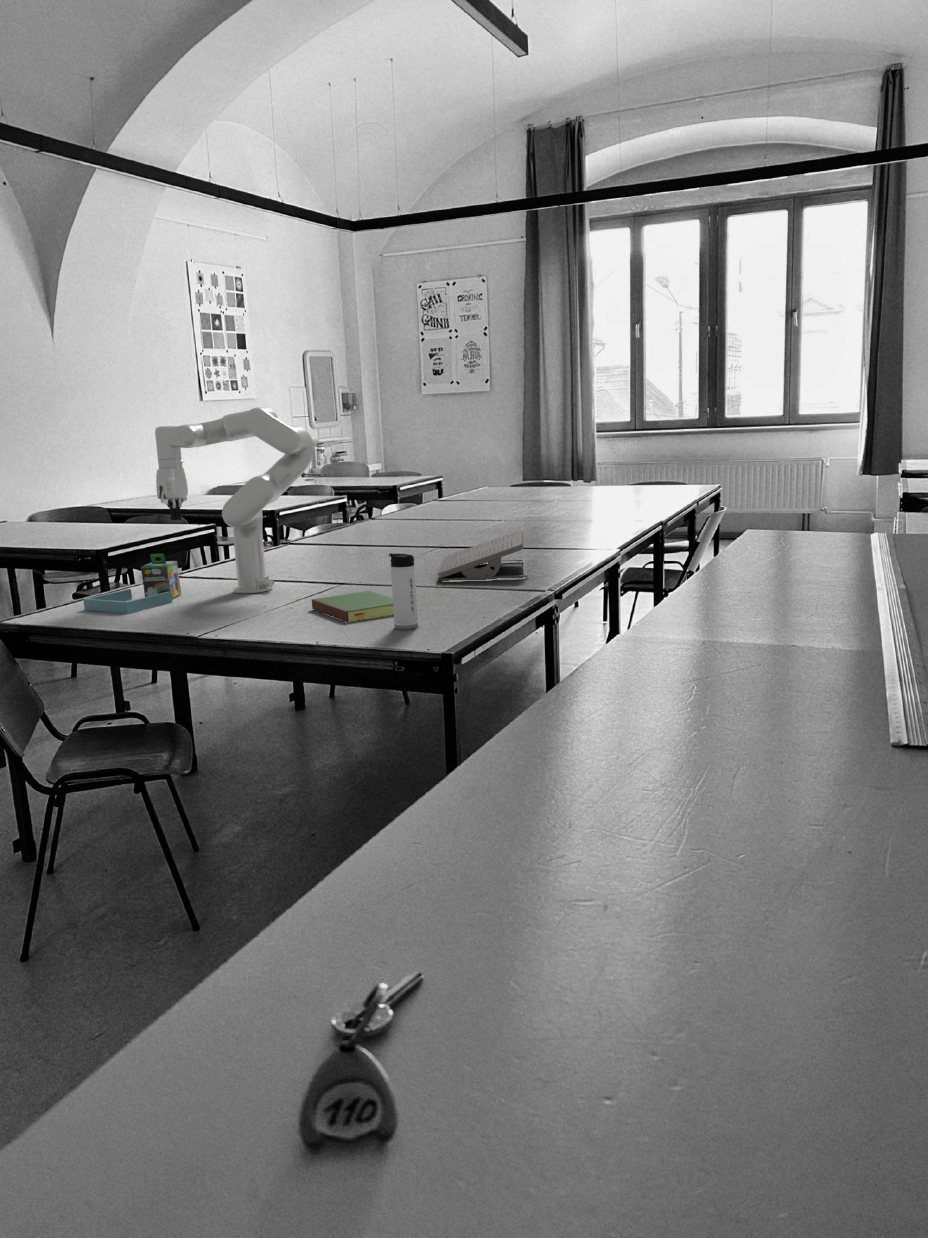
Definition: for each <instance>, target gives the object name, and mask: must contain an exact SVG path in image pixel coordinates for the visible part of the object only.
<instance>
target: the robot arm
mask: <svg viewBox="0 0 928 1238" xmlns="http://www.w3.org/2000/svg"><path fill="white" fill-rule="evenodd" d="M154 435H155V437H154V438H155V445H156V455H157V464H158V469H156V477H155V479H156V480H155V485H156V486H155V487H156V488H155V489H156V497H157V499H159V500H160V504H164V505H166V506H167V509H169V516H170V520H171V521H180V520H182V515H181V514H182V513H181V508H182V505H183V503H184V502H186V501H187V500H188V497H187V496H188V494H189V491H188V490H189V488H188V481H187V477H186V472H185V469H184V467H183V463H184V460H183V458H182V452H181V449H182V448H183V449H192V448H200V447H206V446H209V445H210V446H211V445H215V444H220V443H226V442H234V441H238V440H240V441H241V440H243V439H244V440H245V439H249V438H254V437H256V438H258V439H259V440H261V441H262V442H264V443H266V444H267V445H269V446H270V447H272V448H273V449H276V450H277V451H278V452H280V453H282V454H284V455H283V456H281V457H280V458H279V459H278V460H277V461H275V463H274V464H273V465H272V466H271V467H270V468H269V469H267V470H266V471H265V472H264V473H263V474H260V475H256V476H254V477H252V478H250V479H249V480H247V481H246V483H244V484H243V485H242V486H241V487H240V488H239V489H238V490H237V491H236V492H235V493H234V494H233V495H232V496H230V498H229V499H227V501H226V502H225V503H224V505H223V507H222V511H221V516H222V519H223V522H224V523H225V524H226V525H227V526H229V527H231V528H233V530H232V531H233V532H232V534H233V535H232V536H233V547H234V557H235V558H234V559H235V567H236V570H235V571H236V578H237V579H236V581H237V586H235V587H234V588H233V592H234V593H237V594H257V593H263V592H268V591H271V590H272V588H273V585H275V582H276V581H275V580H274V579H273V580H272V579H270V577H269V575H267V572H266V561H265V547H264V537H263V515H264V514H263V509H264V508H266V507H267V505H270V504H273V503H274V502H276V501H277V500H278V499H279V498H280V497H281V496H282V495H283V494H284V493H285V492H286V491H287V490H288V489H289V488H290V487H291V486H292V485H293V484H294V483H295V482H296V481H297V480H298V478H299V477H301V476H302V474H303V473H304V472H306V470H307V469H308V467H309V466H310V464H311V462H312V459H313V456H314V450H315V448H314V442H313V438H312V435H311V434H310V433H309V431H308V430H307V429H306V428H305V427H301V426H296V425H295V426H290V425H288V424H286V423H285V422H283V421H282V420H280V419H279V418H278V415H277V413H276V411H274V410H273V409H271V408H270V407H267V406H265V407H254V408H251V409H249V410H245V411H240V412H234V413H229V414H226V415H224V416H222V417H221V418H219V419H215V420H210V421H206V422H200V423H192V424H191V423H190V424H189V423H188V424H181V425H177V426H175V425H165V426H162V425H161V426H157V427H156V428H155V430H154Z"/></svg>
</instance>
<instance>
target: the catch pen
mask: <svg viewBox="0 0 928 1238" xmlns="http://www.w3.org/2000/svg"><path fill="white" fill-rule="evenodd" d="M131 599H132V600H131ZM127 600H128V601H127ZM171 602H172V603H173V599H172V595H171V592H164V593H160V594H156V595H152V596H148V597H145V596H144V597H141V598H136V599H133V595H132V589H131V588H127V589H123V590H117V591H114V592H113V591H112V592H109V593H104V594H100V595H96V596H95V595H94V596H91V597H86V598H83V605H84V606H83V607H84V608H83V609H84V611H91V612H104V613H116V614H126V615H127V614H132V613H136V611H137V612H141V611H144V610H143V609H145V610H148V609H152V608H151V607H153V608H156V606H157V607H159V606H165V605H167V604H172V603H171Z"/></svg>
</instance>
